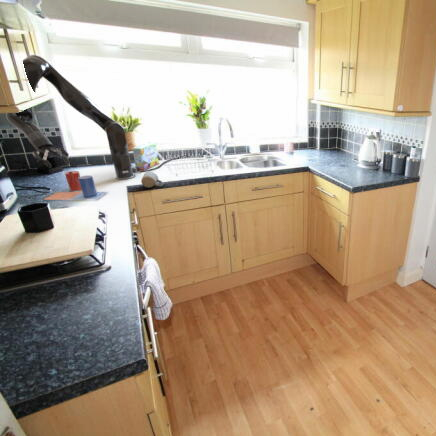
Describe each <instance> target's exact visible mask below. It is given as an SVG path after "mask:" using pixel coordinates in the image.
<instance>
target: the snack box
mask: <svg viewBox="0 0 436 436" xmlns="http://www.w3.org/2000/svg"><path fill="white" fill-rule="evenodd" d="M131 150H132V154H133V159H134V164H135V168H136V169H137V170H140V171H147V170H149V169H152V168H154V167H156V165H160V164H159V163H160V161H159V155H158V148H157V143H156V142H147V143H143V144H141V145H138V146H135V147H132V149H131ZM137 170H136V171H137Z"/></svg>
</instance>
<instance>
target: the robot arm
mask: <svg viewBox="0 0 436 436" xmlns="http://www.w3.org/2000/svg"><path fill="white" fill-rule="evenodd" d="M22 61H23V64H24V68H25V72H26V75H27V78H28V80H29V83H30V85H31V87H32V89H33V91H34V92H35V93H36V92H37V91H36V89H37V86H38V84H39V82H40V81H41V79H42V78H43V79H45V80H46V81H48V82H49V84H51V85H52V86H53V87H54V88H55V89H56V91H57V92H58V93H59V95H60V96H61V98H62V99H63V100H64V102H66V104H68V105H69V106H70V107H72V108H73V109H74V110H75V111H77V112H78V113H79V114H82V115H83V116H85V117H86V118H88V119H89V120H91V121H92V122H94V123H95V124H96V125H97V126H99V127H100V128H101V129H102V130H103V131H104V132H105V134H106V138H107V142H108V147H109V152H110V156H111V160H112V165H113V168H114V173H115V178H116V179H117V180H129V179H132V178H134V177H135V175H134V174H136V173H137V171H138V172H139V173H146V172H152V171H155V170H157V169H159V168H160V167H162V166H163V165H164V164H165V163H167V162H169V161H173V160H178V159H181V158H184V157H187V158H188V157H189V156H188V155H187V154H184V155H181V156H178V157H173V158H170V159H168V160H166V161H163V162H162V163H161V164H159V165H158V166H157V167H156V166H155V167H153V168H149V169H146V170H144V171H140V170H137V169H136V167H133V165H132V161H131V156H130V152H129V147H128V141H127V135H126V131H125V128H124V126H123V125H122V124H121V123H119V122H118V121H116V120H115V119H113V118H112V117H110V116H109V115H108V114H106V113H105V112H104V111H103V110H101V108H100V107H99V106H98V105H97V104H96V103H95V102H93V101H92V99H90V98H89V97H88V96H87V95H86V94H85V93H84V92H82V91H81V90H80V89H78V88H77V87H76V86H75V85H73V84H72V83H71V82H70V81H69V80H68V79H66V77H64V76H63V75H62V74H61V73H60V72H59V71H58V70H56V68H55V67H54V66H52V64H51V63H49V62H48V60H47V59H45V58H43V57H42V56H39V55H37V54H30V55H28V56H27V57H25V58H24V59H22ZM36 94H37V93H36ZM21 111H22V110H21ZM5 117H6V119H7V121H8V123H10V124H11V125H12V126H13V127H15V128H16V129H17V130H19V131H21V132H22V133H23V134H24V135H25V137H26V138H27V140H28V141H29V143H30V144H31V145H32V147H34V149H35V150H33V151H32V156H33V157H34V159H35V160H36V162H37V163H38V164H39V163H43V164H44V165H45V166H46V168H49V169H52V167H53V165H52V164H51V162H50V161H49V160H47V159H51V158H58V159H62V161H63V162H64V163H65V164H66V165H70V159H69V156H70V154H69V153H68V151H67V150H65V148H63V147H62V146H60V147H55V146H54V144H53V143H52V142H51V141H50V139H49V138H48V136H47V135H45V134H44V132H42V130H41V129H40V128H39V127H38V126H37V124H35V123H33V122H34V120H35V118H34V106H33V107H31V108H29V109H26V110H24V111H22V112H19V113H7V112H6V113H5ZM41 156H42V157H43V158H42V157H41Z"/></svg>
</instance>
